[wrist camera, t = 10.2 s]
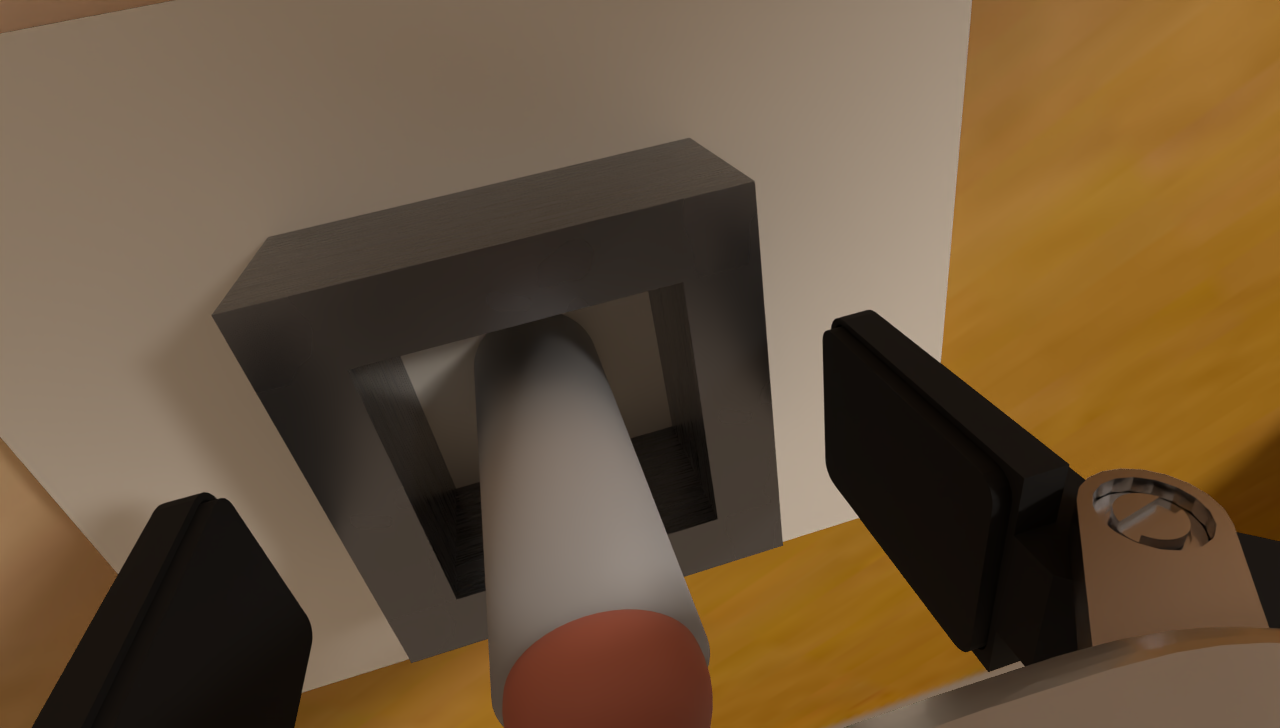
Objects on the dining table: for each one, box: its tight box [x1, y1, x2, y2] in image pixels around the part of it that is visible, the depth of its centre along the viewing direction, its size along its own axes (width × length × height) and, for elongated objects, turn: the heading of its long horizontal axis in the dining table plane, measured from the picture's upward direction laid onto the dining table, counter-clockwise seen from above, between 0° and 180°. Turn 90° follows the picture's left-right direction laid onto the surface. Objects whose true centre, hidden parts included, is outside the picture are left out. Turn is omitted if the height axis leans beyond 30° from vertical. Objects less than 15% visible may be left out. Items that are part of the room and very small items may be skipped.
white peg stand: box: [0, 0, 972, 728], centre depth 10 cm, size 14×18×10 cm
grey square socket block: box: [211, 138, 783, 663], centre depth 12 cm, size 7×7×3 cm
